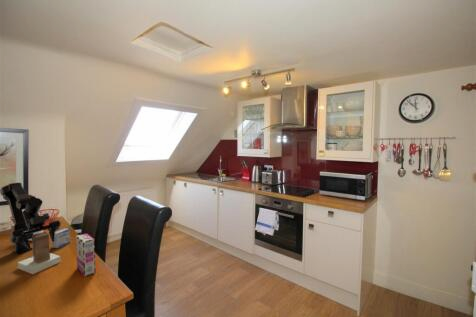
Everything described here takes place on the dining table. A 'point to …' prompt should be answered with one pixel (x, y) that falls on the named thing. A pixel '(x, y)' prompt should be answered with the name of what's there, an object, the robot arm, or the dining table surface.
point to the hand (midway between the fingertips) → (42, 245)
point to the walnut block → (41, 247)
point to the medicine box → (61, 238)
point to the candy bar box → (85, 254)
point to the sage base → (33, 267)
